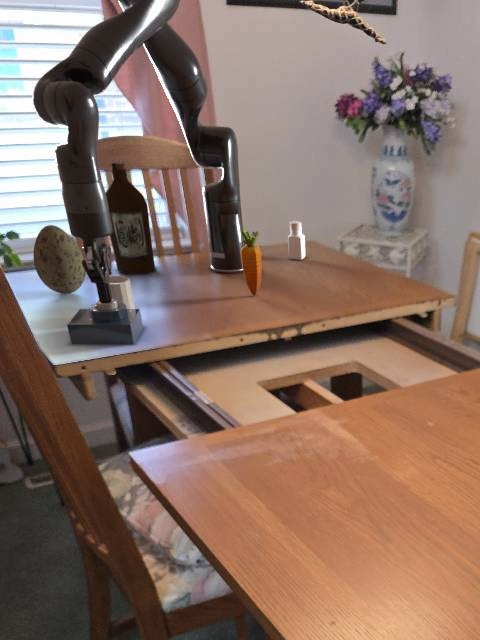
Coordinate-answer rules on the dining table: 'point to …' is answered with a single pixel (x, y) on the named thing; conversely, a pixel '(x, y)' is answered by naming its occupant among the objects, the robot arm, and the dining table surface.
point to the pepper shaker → (296, 241)
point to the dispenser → (105, 326)
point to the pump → (107, 305)
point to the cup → (122, 290)
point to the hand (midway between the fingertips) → (106, 301)
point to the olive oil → (129, 224)
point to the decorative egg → (58, 260)
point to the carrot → (251, 262)
